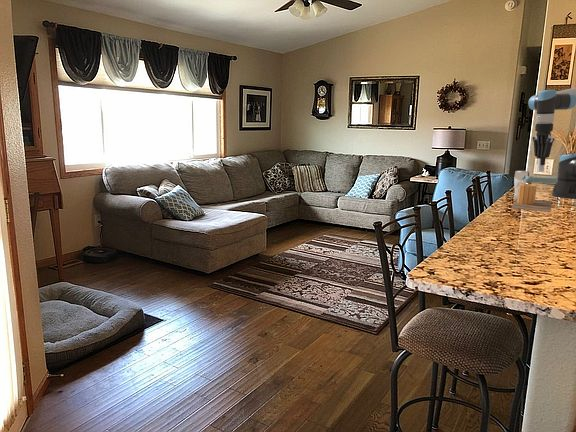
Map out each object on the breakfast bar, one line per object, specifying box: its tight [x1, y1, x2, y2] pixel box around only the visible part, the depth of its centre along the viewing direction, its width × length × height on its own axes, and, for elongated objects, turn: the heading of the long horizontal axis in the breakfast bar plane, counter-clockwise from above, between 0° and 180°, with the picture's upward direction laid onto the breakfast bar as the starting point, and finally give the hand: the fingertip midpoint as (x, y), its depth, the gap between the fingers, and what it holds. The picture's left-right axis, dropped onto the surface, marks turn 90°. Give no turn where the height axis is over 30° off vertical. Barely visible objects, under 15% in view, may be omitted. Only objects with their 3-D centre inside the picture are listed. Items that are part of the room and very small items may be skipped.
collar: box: [517, 183, 537, 205], centre depth 223 cm, size 8×8×9 cm
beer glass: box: [513, 170, 530, 200], centre depth 240 cm, size 7×7×15 cm
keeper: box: [525, 175, 557, 184], centre depth 227 cm, size 14×3×2 cm, turn 59°
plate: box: [510, 199, 553, 213], centre depth 220 cm, size 30×16×2 cm, turn 149°
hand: (540, 171), depth 225 cm, fingers closed
